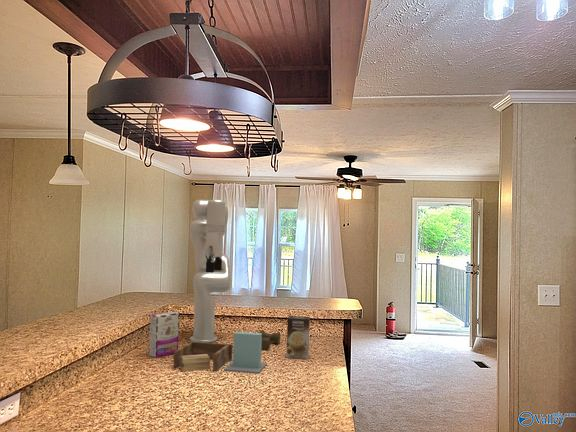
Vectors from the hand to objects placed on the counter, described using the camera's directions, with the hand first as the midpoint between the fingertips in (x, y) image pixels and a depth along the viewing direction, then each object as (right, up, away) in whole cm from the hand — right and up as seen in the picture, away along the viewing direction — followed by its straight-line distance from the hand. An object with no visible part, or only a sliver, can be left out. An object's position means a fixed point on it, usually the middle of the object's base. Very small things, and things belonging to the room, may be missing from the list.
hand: (213, 271), depth 188 cm
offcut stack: (-3, -33, -21) cm, 40 cm away
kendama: (+21, -36, +18) cm, 46 cm away
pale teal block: (+15, -33, -19) cm, 41 cm away
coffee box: (+34, -35, -1) cm, 49 cm away
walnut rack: (-2, -33, -16) cm, 37 cm away
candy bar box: (-20, -34, -3) cm, 39 cm away
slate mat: (+15, -33, -19) cm, 41 cm away
